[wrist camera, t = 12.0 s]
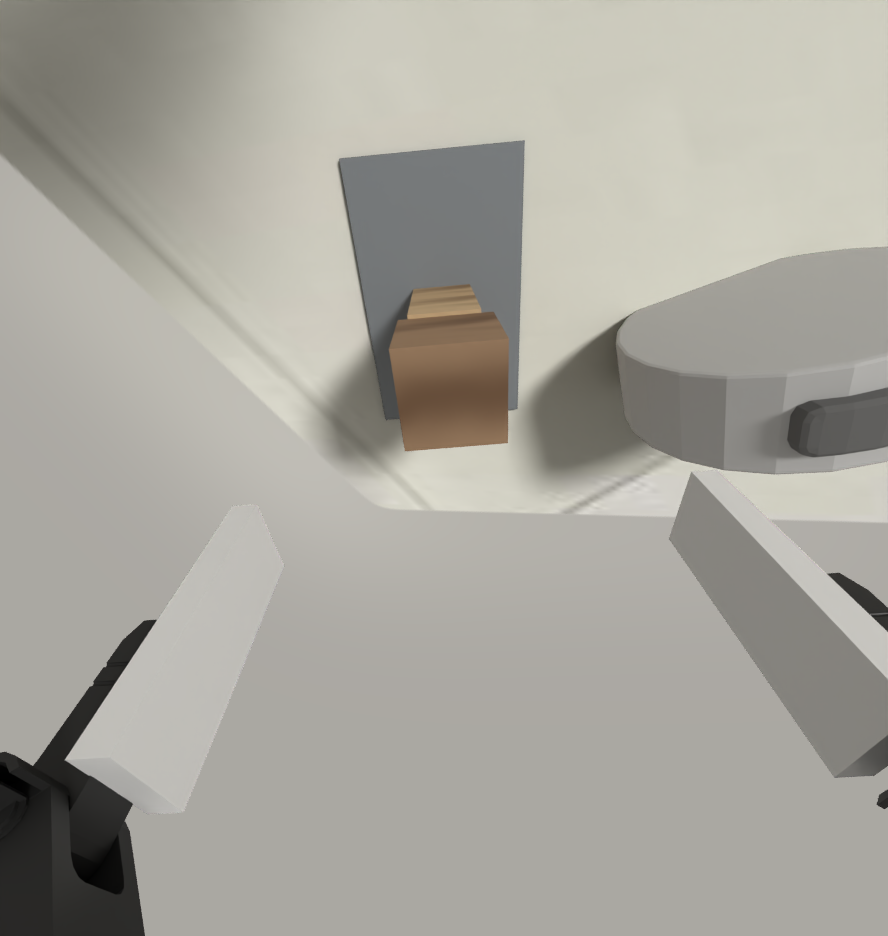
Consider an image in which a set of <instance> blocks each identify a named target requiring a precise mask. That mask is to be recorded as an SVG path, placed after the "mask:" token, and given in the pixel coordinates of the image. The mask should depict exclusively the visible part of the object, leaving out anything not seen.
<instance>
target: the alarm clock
mask: <svg viewBox="0 0 888 936" xmlns="http://www.w3.org/2000/svg"><path fill="white" fill-rule="evenodd" d="M616 351H617V359H618V367H619V375H620V383H621V391H622V399H623V407H624V416H625V418H626V420H627V422H628V424H629V426H630V427H631V429H632V431H633V433H635V434H636V435H637V436H638V437H640V438H641V439H642V440H644V441H645V442H646V443H647V444H649V445H650V446H651V447H652V448H655V449H657V450H659V451H662V452H664V453H666V454H669V455H671V456H673V457H675V458H678V459H680V460H682V461H687V462H691V463H695V464H700V465H704V466H708V467H713V468H717V469H721V470H729V471H741V472H753V473H765V474H794V473H816V472H833V471H838V470H844V469H849V468H855V467H860V466H866V465H871V464H876V463H882V462H887V461H888V247H872V248H854V249H843V250H835V251H827V252H818V253H810V254H803V255H797V256H792V257H786V258H781V259H778V260H775V261H772V262H769V263H767V264H764V265H761V266H758V267H756V268H753V269H750V270H747V271H744V272H742V273H739V274H736V275H733V276H731V277H728V278H725V279H722V280H720V281H717V282H714V283H711V284H708V285H706V286H703V287H700V288H697V289H695V290H692V291H689V292H686V293H684V294H681V295H678V296H675V297H672V298H670V299H667V300H664V301H661V302H659V303H656V304H653V305H650V306H647V307H645V308H642V309H639V310H637V311H635V312H634V313H633V314H631V315H630V316H629V317H628V318H627V319H626V320H625V321H624V323H623V324H622V326H621V327H620V328H619V330H618V331H617V337H616Z"/></svg>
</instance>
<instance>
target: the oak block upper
mask: <svg viewBox="0 0 888 936" xmlns="http://www.w3.org/2000/svg"><path fill="white" fill-rule="evenodd" d="M472 313H481V307H480V305H479V303H478V301H477V299H476V296H475V295H466V296H455V297H443V298H432V299H421V300H411V301H410V306H409V310H408V314H407V318H408V319H416V318H427V317H438V316H450V315H461V314H472Z"/></svg>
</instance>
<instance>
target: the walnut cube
mask: <svg viewBox="0 0 888 936" xmlns="http://www.w3.org/2000/svg"><path fill="white" fill-rule="evenodd" d="M389 353H390V359H391V365H392V372H393V378H394V384H395V391H396V397H397V404H398V410H399V416H400V423H401V429H402V435H403V442H404V448H405V451H414V450H427V449H439V448H452V447H464V446H477V445H489V444H502V443H508V373H509V338H508V336H507V334H506V333H505V331H504V329H503V327H502V326H501V324H500V322H499V320H498V319H497V317H496V315H495V313H494V312H483V313H472V314H461V315H450V316H438V317H427V318H416V319H405V320H398V321H397V325H396V328H395V331H394V334H393V338H392V341H391V344H390V347H389Z"/></svg>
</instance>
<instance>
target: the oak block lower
mask: <svg viewBox="0 0 888 936" xmlns="http://www.w3.org/2000/svg"><path fill="white" fill-rule="evenodd" d="M466 295H475V294H474V292H473V290H472V288H471V286H470V284H465V285H454V286H443V287H431V288H420V289H413V293H412V297H411V300H421V299H432V298H443V297H455V296H466Z"/></svg>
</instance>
